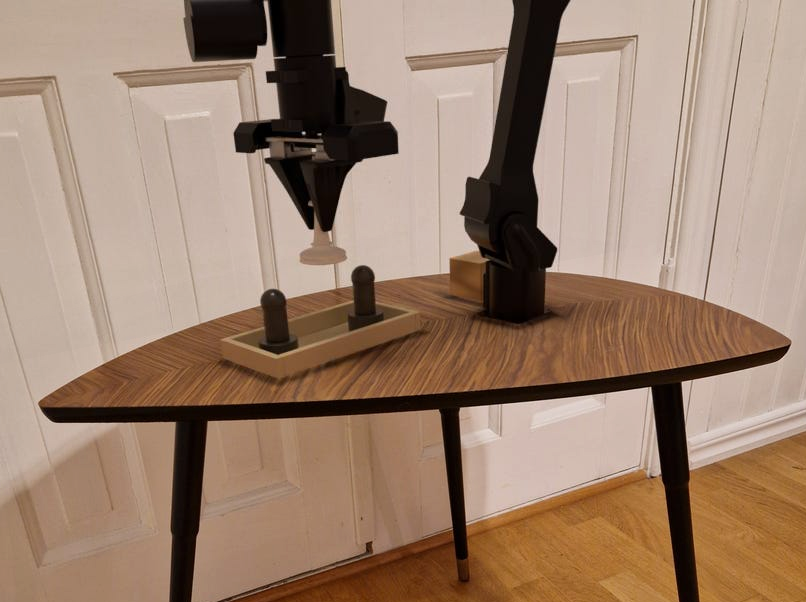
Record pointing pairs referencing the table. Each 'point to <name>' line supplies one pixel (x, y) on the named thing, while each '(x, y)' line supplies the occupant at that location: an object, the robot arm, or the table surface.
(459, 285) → the maple block
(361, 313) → the pawn
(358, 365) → the table surface
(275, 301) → the pawn
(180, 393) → the table surface
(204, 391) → the table surface
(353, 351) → the tray
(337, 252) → the chess piece
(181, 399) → the table surface
